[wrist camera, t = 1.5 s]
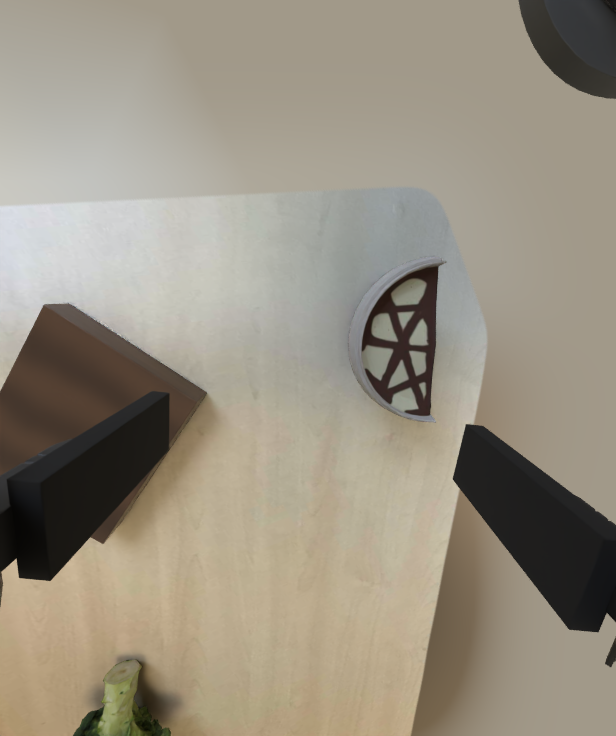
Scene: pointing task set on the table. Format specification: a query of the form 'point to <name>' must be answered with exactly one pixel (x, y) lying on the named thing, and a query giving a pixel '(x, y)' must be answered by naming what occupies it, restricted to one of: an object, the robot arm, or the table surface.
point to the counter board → (81, 391)
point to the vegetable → (121, 708)
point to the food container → (398, 339)
